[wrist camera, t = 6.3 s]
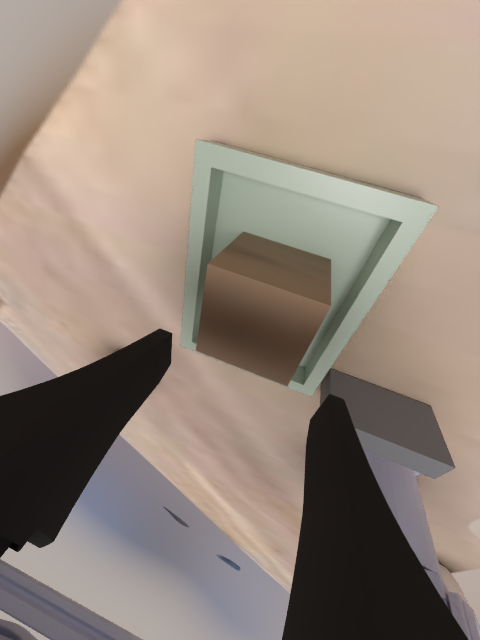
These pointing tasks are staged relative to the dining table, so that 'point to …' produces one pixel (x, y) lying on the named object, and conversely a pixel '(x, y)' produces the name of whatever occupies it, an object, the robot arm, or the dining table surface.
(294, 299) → the brown block
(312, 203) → the tray
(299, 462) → the dining table surface
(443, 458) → the block
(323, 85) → the dining table surface
